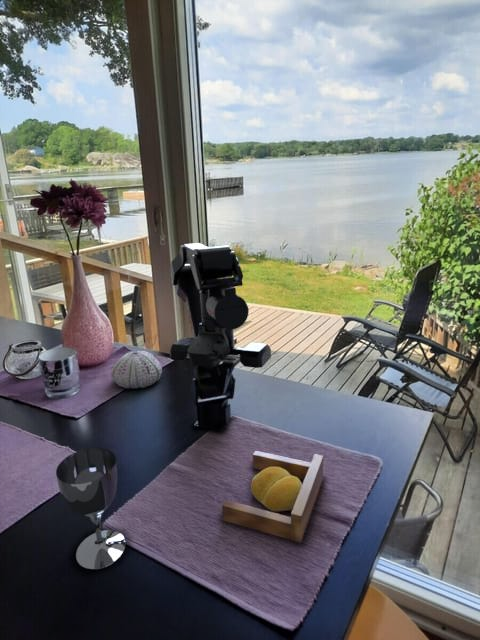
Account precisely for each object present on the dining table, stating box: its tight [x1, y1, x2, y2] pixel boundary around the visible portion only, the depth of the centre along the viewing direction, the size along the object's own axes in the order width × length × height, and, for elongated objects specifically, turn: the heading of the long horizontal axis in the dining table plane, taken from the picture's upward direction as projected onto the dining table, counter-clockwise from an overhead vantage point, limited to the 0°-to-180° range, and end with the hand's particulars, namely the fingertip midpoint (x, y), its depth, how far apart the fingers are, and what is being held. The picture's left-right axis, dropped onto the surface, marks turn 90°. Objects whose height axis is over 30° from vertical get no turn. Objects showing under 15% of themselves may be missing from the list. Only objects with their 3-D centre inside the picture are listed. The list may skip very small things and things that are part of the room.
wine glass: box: [55, 447, 127, 570], centre depth 63 cm, size 8×8×15 cm
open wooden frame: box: [221, 450, 324, 543], centre depth 74 cm, size 13×15×5 cm
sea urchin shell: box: [110, 350, 163, 390], centre depth 117 cm, size 13×14×8 cm
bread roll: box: [250, 467, 303, 513], centre depth 75 cm, size 8×9×4 cm
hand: (222, 393), depth 85 cm, fingers closed
